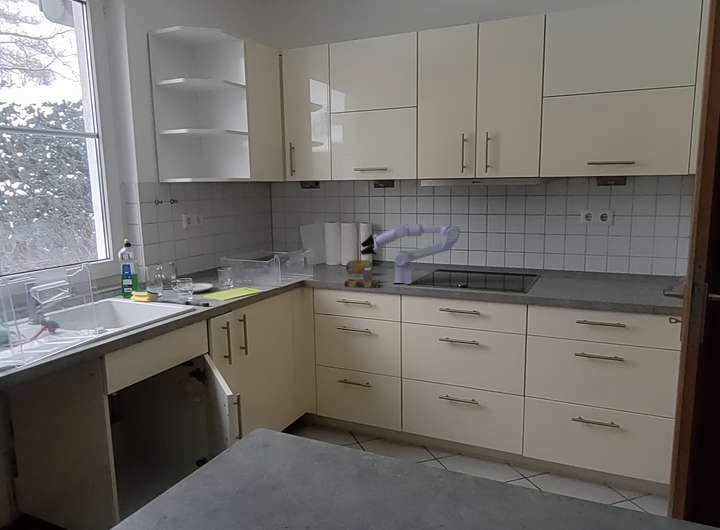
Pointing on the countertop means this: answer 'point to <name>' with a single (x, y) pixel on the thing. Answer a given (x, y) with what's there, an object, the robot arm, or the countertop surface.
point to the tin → (358, 266)
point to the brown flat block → (361, 283)
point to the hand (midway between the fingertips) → (361, 249)
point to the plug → (367, 274)
